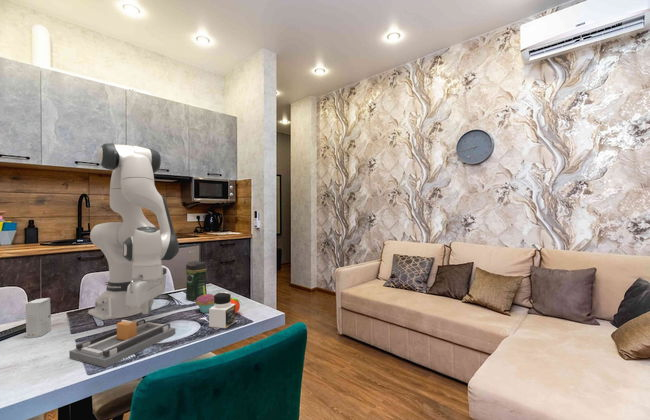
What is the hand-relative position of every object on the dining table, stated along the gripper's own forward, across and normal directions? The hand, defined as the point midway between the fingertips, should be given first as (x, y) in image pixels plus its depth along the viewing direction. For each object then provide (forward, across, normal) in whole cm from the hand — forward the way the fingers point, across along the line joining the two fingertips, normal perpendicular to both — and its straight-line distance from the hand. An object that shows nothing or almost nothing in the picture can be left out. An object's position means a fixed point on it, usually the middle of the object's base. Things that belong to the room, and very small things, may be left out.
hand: (146, 312), depth 104 cm
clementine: (+8, +19, -25) cm, 33 cm away
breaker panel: (+9, -6, +4) cm, 11 cm away
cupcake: (+8, +26, -13) cm, 30 cm away
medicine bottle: (+8, +9, -24) cm, 27 cm away
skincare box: (+8, +7, +40) cm, 41 cm away
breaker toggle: (+6, -6, +4) cm, 9 cm away
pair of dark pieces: (+6, -6, +4) cm, 9 cm away
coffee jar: (+7, +44, -3) cm, 44 cm away
